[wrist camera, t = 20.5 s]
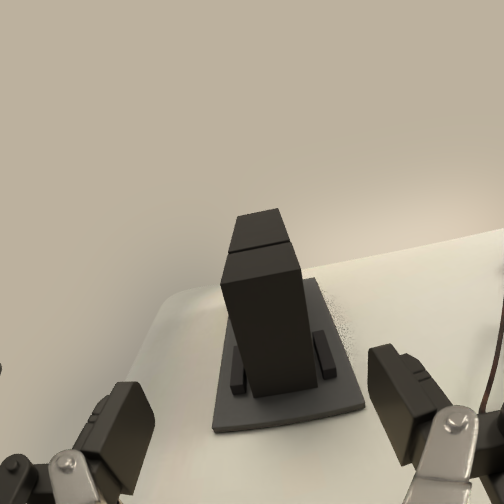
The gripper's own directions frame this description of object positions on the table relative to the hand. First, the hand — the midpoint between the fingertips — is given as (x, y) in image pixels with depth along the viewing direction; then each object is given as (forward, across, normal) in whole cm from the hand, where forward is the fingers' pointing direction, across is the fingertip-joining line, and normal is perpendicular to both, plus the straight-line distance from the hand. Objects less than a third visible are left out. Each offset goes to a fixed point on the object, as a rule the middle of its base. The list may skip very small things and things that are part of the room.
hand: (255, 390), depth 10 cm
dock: (+16, +1, -8) cm, 18 cm away
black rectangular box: (+11, +1, -8) cm, 13 cm away
